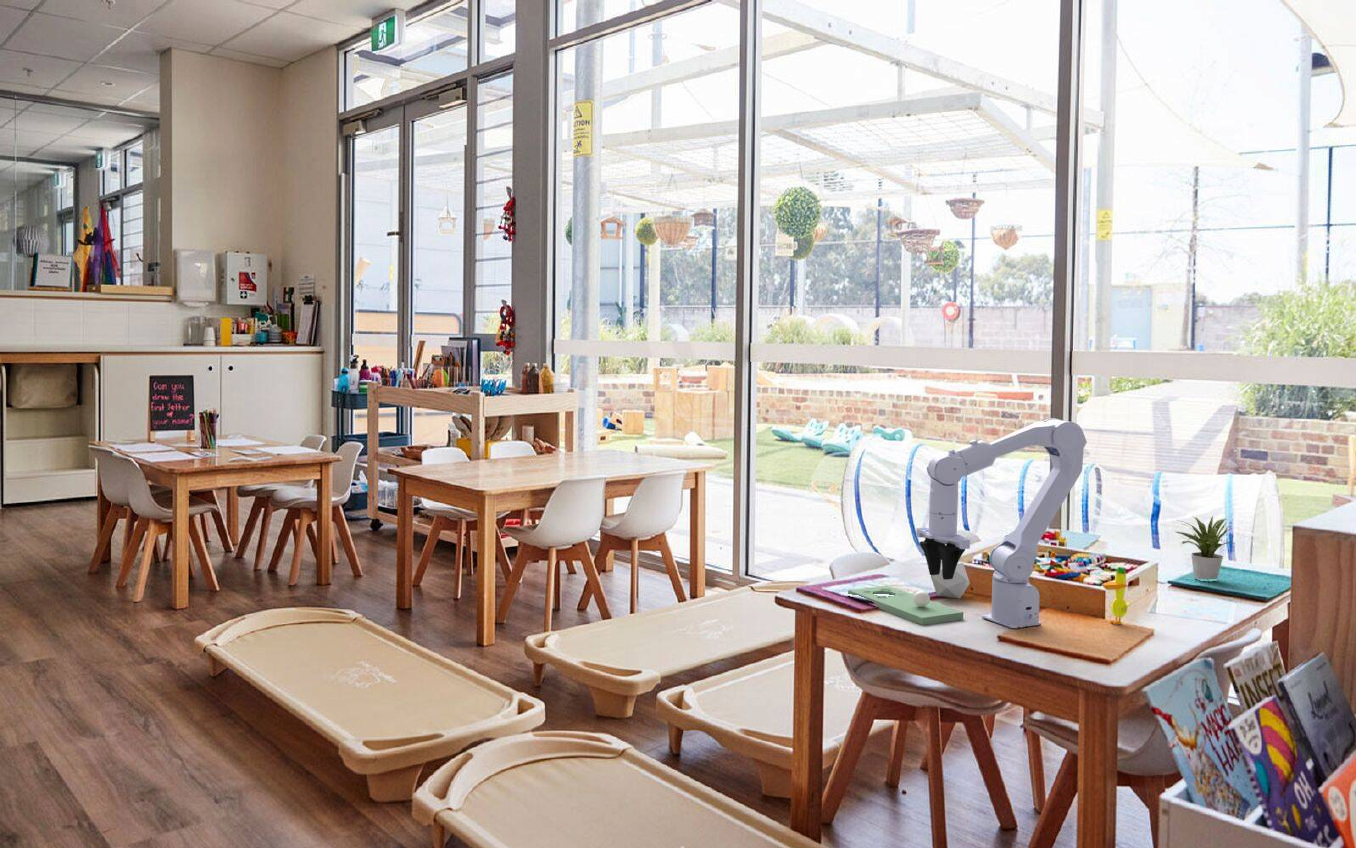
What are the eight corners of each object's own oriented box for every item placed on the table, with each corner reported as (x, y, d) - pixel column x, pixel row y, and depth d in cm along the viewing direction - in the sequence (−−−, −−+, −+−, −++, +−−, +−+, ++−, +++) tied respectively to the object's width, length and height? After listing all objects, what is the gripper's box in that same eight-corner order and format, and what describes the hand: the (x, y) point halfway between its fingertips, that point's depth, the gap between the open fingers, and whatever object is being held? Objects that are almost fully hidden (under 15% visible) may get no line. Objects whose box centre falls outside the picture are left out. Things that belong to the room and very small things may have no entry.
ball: (933, 608, 232) (933, 592, 231) (920, 610, 230) (920, 593, 230) (922, 604, 235) (922, 588, 234) (909, 606, 233) (910, 590, 233)
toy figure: (1107, 627, 224) (1109, 570, 223) (1095, 622, 227) (1098, 566, 226) (1134, 624, 226) (1137, 568, 225) (1123, 620, 229) (1125, 564, 228)
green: (963, 619, 229) (963, 612, 229) (922, 625, 224) (922, 618, 224) (886, 591, 252) (887, 585, 252) (847, 596, 247) (848, 590, 247)
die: (973, 597, 251) (954, 560, 255) (979, 586, 243) (959, 548, 247) (940, 610, 250) (922, 572, 254) (946, 600, 242) (926, 561, 246)
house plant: (1191, 570, 279) (1194, 507, 278) (1247, 580, 268) (1250, 515, 267) (1164, 577, 270) (1167, 512, 269) (1221, 588, 259) (1224, 521, 258)
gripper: (905, 508, 230) (903, 571, 231) (951, 519, 217) (949, 586, 218) (931, 506, 233) (929, 568, 234) (978, 517, 220) (976, 582, 221)
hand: (941, 576), depth 226 cm, fingers open, 4 cm apart
